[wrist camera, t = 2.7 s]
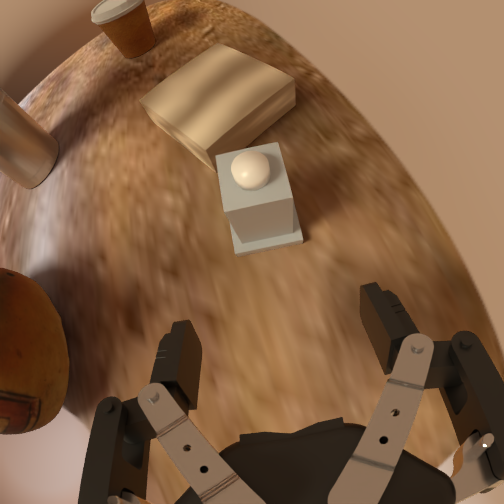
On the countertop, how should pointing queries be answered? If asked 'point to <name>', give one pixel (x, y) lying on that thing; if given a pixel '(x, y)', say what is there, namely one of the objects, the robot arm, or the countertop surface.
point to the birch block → (220, 102)
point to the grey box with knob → (258, 199)
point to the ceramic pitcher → (29, 356)
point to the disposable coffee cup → (125, 25)
